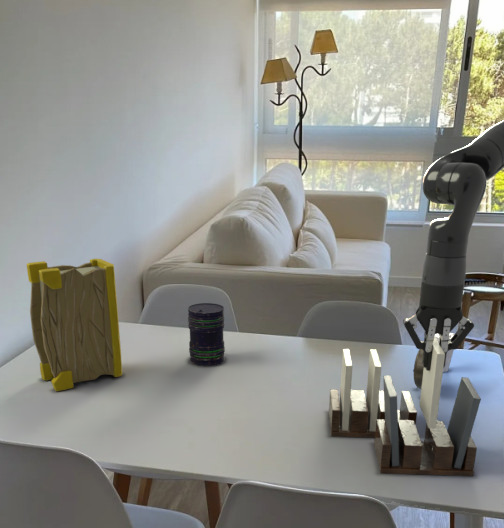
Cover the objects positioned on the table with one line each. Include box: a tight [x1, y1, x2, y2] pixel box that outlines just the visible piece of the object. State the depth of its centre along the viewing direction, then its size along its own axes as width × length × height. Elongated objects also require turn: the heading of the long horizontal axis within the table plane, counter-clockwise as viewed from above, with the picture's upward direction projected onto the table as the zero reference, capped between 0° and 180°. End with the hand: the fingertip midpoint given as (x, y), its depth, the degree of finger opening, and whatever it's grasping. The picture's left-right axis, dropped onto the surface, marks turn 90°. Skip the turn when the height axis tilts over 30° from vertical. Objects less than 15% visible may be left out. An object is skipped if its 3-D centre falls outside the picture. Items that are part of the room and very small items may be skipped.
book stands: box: [328, 388, 478, 477], centre depth 150 cm, size 27×29×6 cm
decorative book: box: [26, 258, 123, 392], centre depth 178 cm, size 20×11×30 cm, turn 124°
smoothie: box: [434, 332, 455, 373], centre depth 188 cm, size 6×6×14 cm
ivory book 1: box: [339, 348, 353, 431], centre depth 155 cm, size 1×11×15 cm, turn 177°
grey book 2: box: [446, 376, 482, 469], centre depth 140 cm, size 1×11×15 cm, turn 177°
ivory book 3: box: [419, 336, 445, 429], centre depth 136 cm, size 1×11×15 cm, turn 177°
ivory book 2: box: [365, 348, 382, 431], centre depth 155 cm, size 1×11×15 cm, turn 177°
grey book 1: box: [382, 374, 399, 467], centre depth 141 cm, size 1×11×15 cm, turn 176°
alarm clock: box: [412, 349, 424, 390], centre depth 173 cm, size 11×5×16 cm, turn 151°
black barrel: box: [187, 302, 226, 367], centre depth 194 cm, size 10×10×15 cm
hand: (432, 369), depth 135 cm, fingers closed on ivory book 3, 1 cm apart
